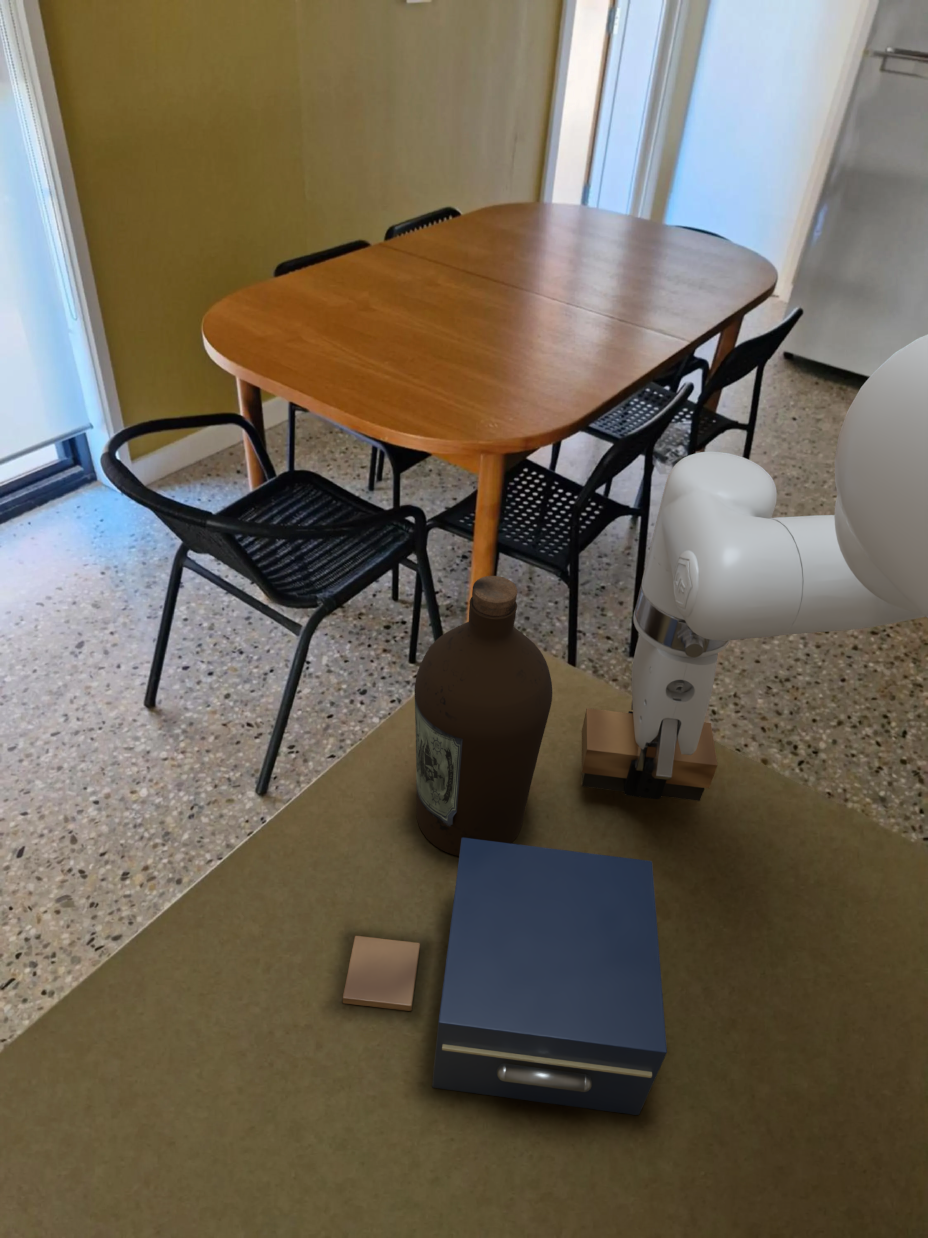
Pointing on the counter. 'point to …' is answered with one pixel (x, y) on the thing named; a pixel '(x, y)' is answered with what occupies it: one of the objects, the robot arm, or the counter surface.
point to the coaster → (382, 973)
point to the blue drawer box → (552, 979)
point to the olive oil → (479, 723)
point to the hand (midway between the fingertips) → (640, 768)
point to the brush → (616, 747)
